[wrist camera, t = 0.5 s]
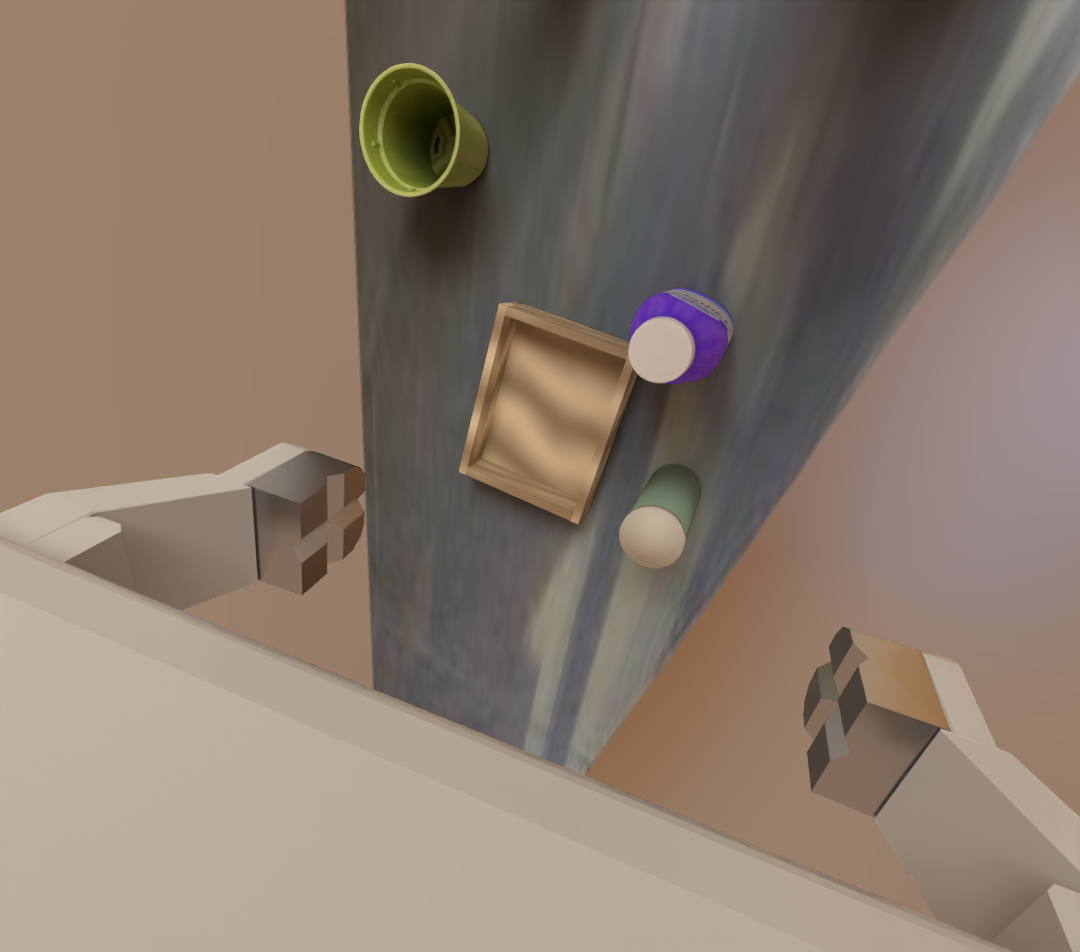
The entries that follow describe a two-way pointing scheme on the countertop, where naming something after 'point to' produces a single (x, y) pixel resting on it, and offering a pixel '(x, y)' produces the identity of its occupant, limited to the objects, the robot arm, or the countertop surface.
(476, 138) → the plant pot
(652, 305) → the bottle
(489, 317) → the countertop surface
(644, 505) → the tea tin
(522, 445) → the crate
